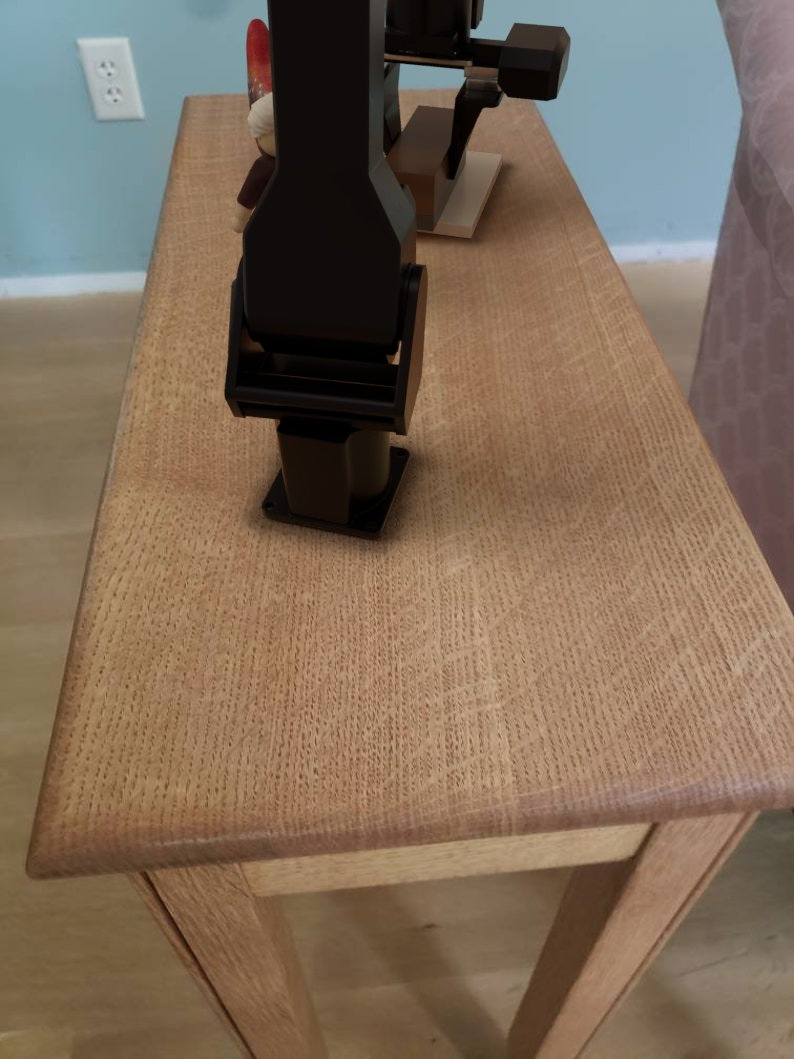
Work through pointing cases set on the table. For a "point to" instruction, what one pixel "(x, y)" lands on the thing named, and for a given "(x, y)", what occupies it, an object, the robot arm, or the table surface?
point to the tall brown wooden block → (426, 162)
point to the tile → (469, 195)
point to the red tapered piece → (258, 64)
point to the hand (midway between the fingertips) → (425, 174)
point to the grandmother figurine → (257, 161)
